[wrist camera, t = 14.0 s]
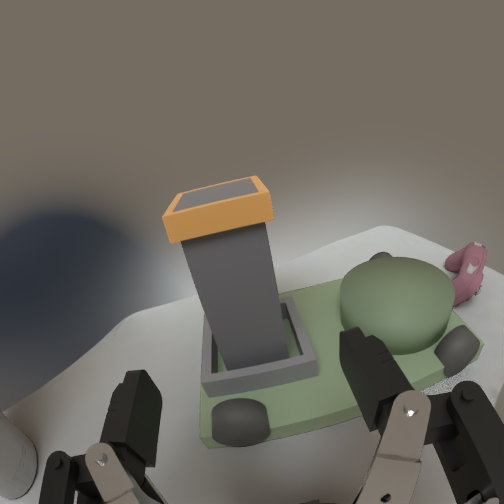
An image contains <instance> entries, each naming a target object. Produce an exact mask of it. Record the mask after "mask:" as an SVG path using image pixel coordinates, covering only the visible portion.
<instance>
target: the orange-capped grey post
mask: <svg viewBox="0 0 504 504" xmlns="http://www.w3.org/2000/svg"><path fill="white" fill-rule="evenodd" d="M162 219H163V222H164V225H165V229H166V232H167V235H168V238H169V241H170V243H175V242H179V241H181V244H182V247H183V250H184V253H185V257H186V260H187V263H188V266H189V269H190V272H191V275H192V277H193V281H194V284H195V287H196V289H197V292H198V295H199V298H200V301H201V304H202V307H203V309H204V312H205V315H206V318H207V320H208V323H209V326H210V328H211V331H212V334H213V336H214V339H215V342H216V344H217V347H218V349H219V352H220V354H221V357H222V359H223V362H224V364H225V367H226V369H227V371H230V370H236V369H241V368H247V367H252V366H257V365H262V364H266V363H271V362H275V361H280V360H284V359H288V358H289V353H288V347H287V341H286V335H285V330H284V324H283V318H282V312H281V306H280V301H279V295H278V290H277V284H276V278H275V273H274V267H273V262H272V256H271V251H270V246H269V240H268V235H267V230H266V225H265V222H266V221H270V220H274V214H273V208H272V203H271V197H270V192H269V191H268V189H267V188H266V187H265V186H264V185H263V183H262V182H261V181H260V180H259V178H258V177H257V176H251V177H247V178H242V179H237V180H233V181H228V182H224V183H220V184H215V185H211V186H207V187H203V188H199V189H195V190H191V191H187V192H183V193H179V194H177V196H176V197H175V199H174V200H173V202H172V203H171V205H170V206H169V208H168V209H167V211H166V212H165V214H164V215H163V217H162Z"/></svg>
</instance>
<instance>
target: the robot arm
mask: <svg viewBox="0 0 504 504" xmlns="http://www.w3.org/2000/svg"><path fill="white" fill-rule="evenodd" d="M339 359H340V365H341V368H342V371H343V373H344V375H345V377H346V379H347V382H348V384H349V386H350V388H351V390H352V393H353V395H354V397H355V399H356V402H357V404H358V406H359V408H360V411H361V413H362V415H363V417H364V420H365V422H366V424H367V427H368V429H369V431H370V432H371V431H374V430H377V429H378V431H379V433H380V435H381V437H380V440H379V443H378V445H377V448H376V451H375V453H374V456H373V459H372V461H371V464H370V466H369V469H368V471H367V473H366V476H365V478H364V480H363V482H362V484H361V486H360V488H359V491H358V493H357V495H356V497H355V499H354V501H353V503H352V504H409V502H410V500H411V497H412V494H413V491H414V488H415V485H416V482H417V479H418V476H419V473H420V469H421V461H420V456H421V452H422V448H423V445H427V444H432V443H433V445H434V448H435V450H436V452H437V454H438V457H439V459H440V461H441V464H442V466H443V469H444V471H445V474H446V476H447V479H448V481H449V484H450V486H451V489H452V492H453V494H454V497H455V500H456V502H457V504H504V424H503V423H502V421H501V419H500V418H499V416H498V414H497V412H496V411H495V409H494V407H493V406H492V404H491V402H490V401H489V399H488V398H487V396H486V395H485V393H484V391H483V390H482V388H481V387H480V386H479V385H478V384H477V383H475V382H473V381H462V382H460V383H458V384H457V385H456V386H455V387H454V388H453V390H452V392H448V393H443V394H437V395H425V394H424V393H422V392H420V391H416V390H415V389H414V388H413V387H412V386H411V384H410V382H409V381H408V379H407V378H406V376H405V375H404V373H403V371H402V370H401V368H400V367H399V365H398V364H397V362H396V360H394V357H393V356H392V354H391V353H390V352H389V350H388V348H387V347H386V345H385V344H384V342H383V341H382V340H380V339H379V338H377V337H376V336H374V335H370V336H367V337H365V335H364V334H363V332H362V331H361V329H360V328H359V327H358V326H357V327H354V328H350V329H347V330H344V331H340V334H339ZM161 410H162V396H161V393H160V391H159V390H158V388H157V387H156V385H155V384H154V382H153V381H152V379H151V378H150V376H149V375H148V373H147V372H146V371H145V370H134V371H127V372H126V375H125V378H124V381H123V383H119V385H118V386H117V388H116V389H115V390H114V392H113V394H112V397H111V401H110V404H109V408H108V412H107V415H106V419H105V423H104V427H103V430H102V435H101V439H100V442H99V443H97V444H94V445H92V446H91V447H90V448H89V449H88V451H87V453H86V454H84V455H79V456H73V457H70V456H69V455H67V454H66V453H65V452H63V451H55V452H53V453H52V454H51V455H50V456H49V457H48V459H47V463H46V467H45V472H44V477H43V482H42V487H41V493H40V499H39V504H73V503H74V495H75V491H77V492H78V497H77V504H168V503H167V501H166V500H165V499H164V498H163V496H162V495H161V494H160V492H159V491H158V490H157V488H156V487H155V486H154V484H153V483H152V481H151V480H150V479H149V477H148V476H147V475H146V474H145V468H146V467H155V463H156V453H157V443H158V434H159V426H160V418H161ZM36 469H37V455H36V450H35V447H34V445H33V443H32V441H31V440H30V439H29V438H28V437H27V436H26V435H25V434H24V433H23V432H21V431H20V430H19V429H18V428H17V427H16V426H15V425H14V424H13V423H12V422H11V421H10V420H9V419H8V418H7V417H6V416H5V415H4V414H3V413H2V412H1V411H0V495H1V496H2V497H4V498H7V499H15V498H18V497H20V496H22V495H23V494H25V493H26V491H27V490H28V489H29V488H30V486H31V484H32V483H33V480H34V477H35V474H36ZM301 504H334V503H320V502H319V499H318V500H314V501H310V502H306V503H301Z"/></svg>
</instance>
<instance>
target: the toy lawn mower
mask: <svg viewBox="0 0 504 504" xmlns="http://www.w3.org/2000/svg"><path fill="white" fill-rule="evenodd" d="M278 295H279V301H280V306H281V312H282V318H283V324H284V330H285V335H286V341H287V347H288V353H289V358H288V359H284V360H280V361H275V362H271V363H266V364H262V365H257V366H252V367H247V368H241V369H236V370H230V371H227V369H226V367H225V364H224V362H223V359H222V357H221V354H220V352H219V349H218V347H217V344H216V342H215V339H214V336H213V334H212V331H211V328H210V326H209V323H208V320H207V318H206V315H204V328H203V344H202V364H201V392H200V432H199V438H200V439H201V440H202V442H203V443H204V444H205V445H206V446H207V448H219V447H229V446H231V447H245V446H251V445H255V444H258V443H261V442H263V441H268V440H274V439H279V438H284V437H288V436H293V435H297V434H301V433H305V432H309V431H313V430H317V429H321V428H324V427H328V426H331V425H334V424H338V423H341V422H344V421H347V420H350V419H353V418H356V417H359V416H362V413H361V411H360V408H359V406H358V404H357V402H356V399H355V397H354V395H353V393H352V390H351V388H350V386H349V384H348V382H347V379H346V377H345V375H344V373H343V371H342V368H341V365H340V359H339V334H340V331H344V330H347V329H350V328H354V327H357V326H358V327H359V328H360V329H361V331H362V332H363V334H364V335H365V337H367V336H370V335H374V336H376V337H377V338H379V339H380V340H382V341H383V342H384V344H385V345H386V347H387V348H388V350H389V352H390V353H391V354H392V356H393V357H394V360H396V362H397V364H398V365H399V367H400V368H401V370H402V371H403V373H404V375H405V376H406V378H407V379H408V381H409V382H410V384H411V386H412V387H413V388H414V389H415V390H416V391H421V390H423V389H425V388H427V387H429V386H431V385H433V384H435V383H437V382H439V381H441V380H443V379H445V378H446V377H451V376H453V375H455V374H457V373H459V372H460V371H461V370H463V369H464V368H465V367H466V366H467V365H469V364H470V363H472V362H473V361H475V360H477V359H478V357H479V354H480V352H481V350H482V348H483V345H484V343H483V342H482V341H481V339H480V338H479V337H478V336H477V335H476V334H475V333H474V332H473V331H472V330H471V329H470V328H469V327H468V326H467V325H466V324H465V323H464V322H463V321H462V319H461V318H460V317H459V316H458V315H457V314H456V313H455V312H454V311H453V310H452V307H453V303H454V299H455V290H454V286H453V283H452V282H451V280H450V279H449V277H448V276H447V275H446V274H445V273H444V272H443V271H441V270H440V269H439V268H437V267H435V266H434V265H431V264H429V263H427V262H424V261H421V260H417V259H413V258H406V257H392V256H391V255H390V254H389V253H387V252H380V253H377V254H375V255H374V256H373V257H372V258H371V259H370V260H369V261H367V262H364V263H362V264H360V265H358V266H356V267H354V268H353V269H351V270H350V271H349V272H348V273H347V274H346V275H345V276H344V278H342V279H338V280H334V281H331V282H327V283H323V284H319V285H315V286H311V287H307V288H302V289H298V290H294V291H290V292H286V293H281V294H278Z"/></svg>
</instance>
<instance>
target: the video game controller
mask: <svg viewBox="0 0 504 504" xmlns="http://www.w3.org/2000/svg"><path fill="white" fill-rule="evenodd" d="M486 256H487V250H486V249H485V247H484V246H483V245H481V244H477V243H476V242H475V241H474V242H473V243H469V244H468V245H467V246H466V247H465V248H463V249H461V250H460V251H457V252H455V253H453V254H451V255H450V256H449V257H448V258H447V259H446V261H445V267H446V268H447V270H449V271H452V272H458V271H459V274H458V276H457V277H456V278H455V279H453V280H452V281H451V282H452V283H453V286H454V290H455V299H454V303H453V306H455V305H457V304H459V303H461V302H463V301H465V300H469V299H470V298H471V297H472V296H473V295H474V293H475V295H478V294H479V293H480V291H481V288H482V286H480V284H481V282H482V279H483V274H482V271H483V268H484V265H485V262H486Z"/></svg>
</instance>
